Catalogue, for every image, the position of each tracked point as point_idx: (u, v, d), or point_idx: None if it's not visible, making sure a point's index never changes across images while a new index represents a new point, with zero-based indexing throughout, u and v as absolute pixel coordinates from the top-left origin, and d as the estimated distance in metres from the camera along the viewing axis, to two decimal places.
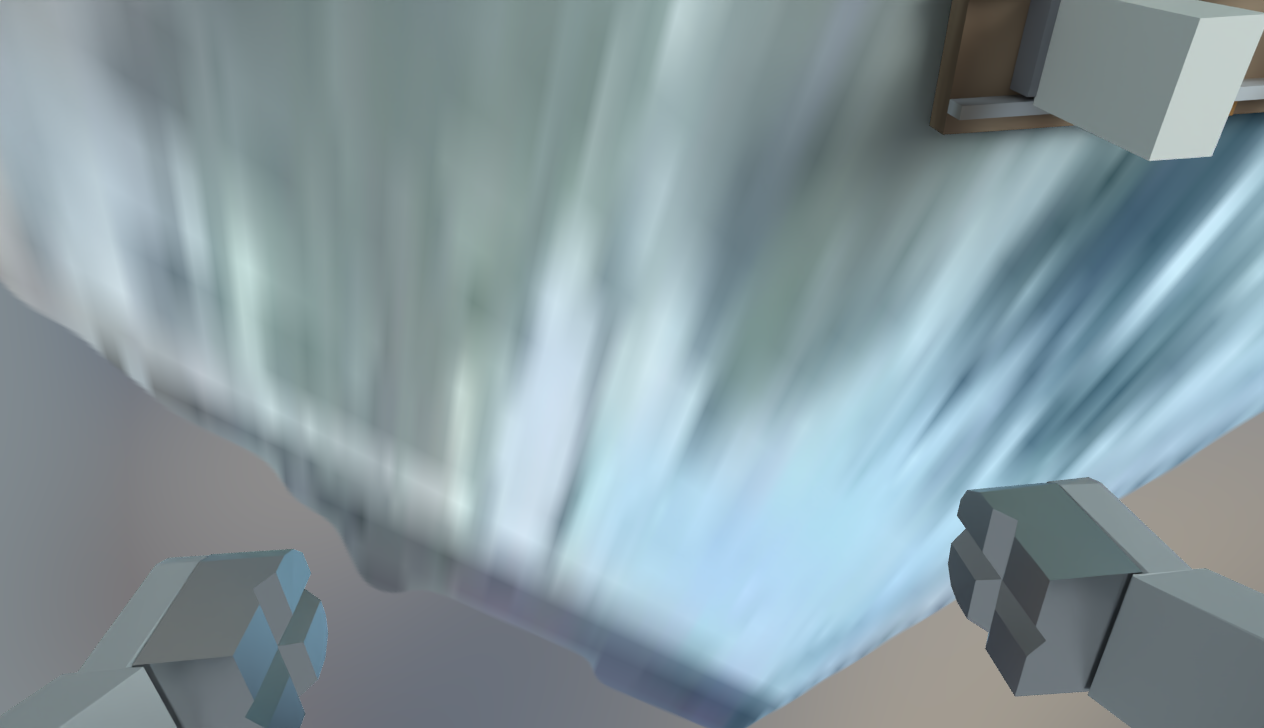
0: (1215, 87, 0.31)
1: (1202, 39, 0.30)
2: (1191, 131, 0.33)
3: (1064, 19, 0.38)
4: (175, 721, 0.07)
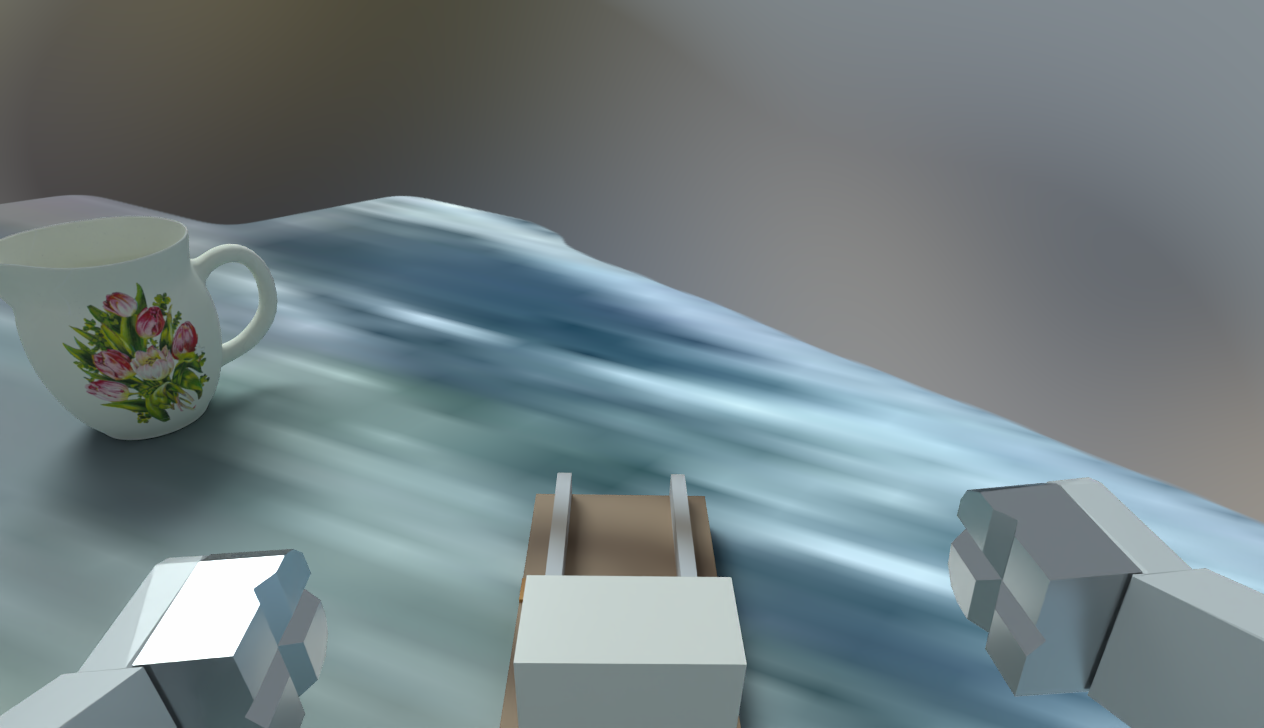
0: (625, 607, 0.20)
1: (548, 648, 0.19)
2: (692, 617, 0.20)
3: None
4: (175, 721, 0.07)
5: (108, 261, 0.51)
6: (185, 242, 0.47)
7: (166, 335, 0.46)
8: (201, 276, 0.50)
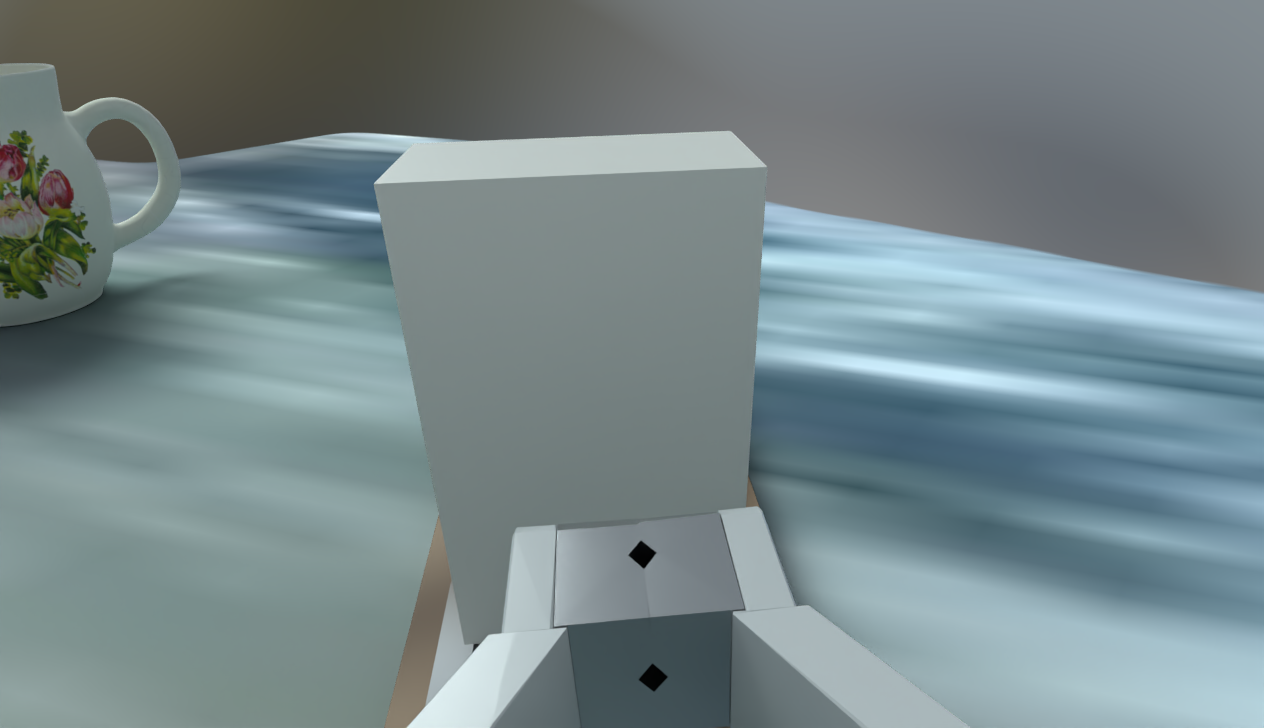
0: (565, 150, 0.13)
1: (435, 174, 0.11)
2: (674, 150, 0.12)
3: None
4: (574, 683, 0.07)
5: None
6: (49, 75, 0.39)
7: (29, 182, 0.38)
8: (79, 130, 0.42)
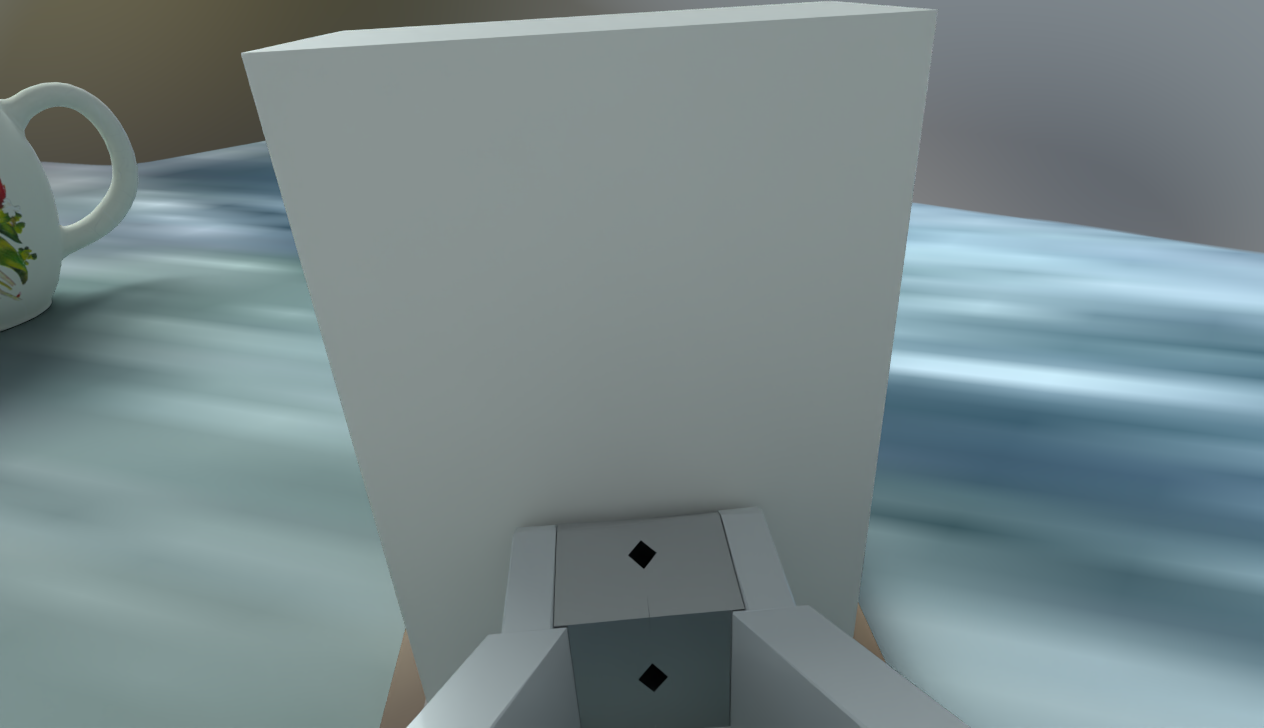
0: (579, 21, 0.08)
1: (355, 42, 0.06)
2: (757, 11, 0.08)
3: None
4: (573, 683, 0.07)
5: None
6: None
7: None
8: (15, 120, 0.37)
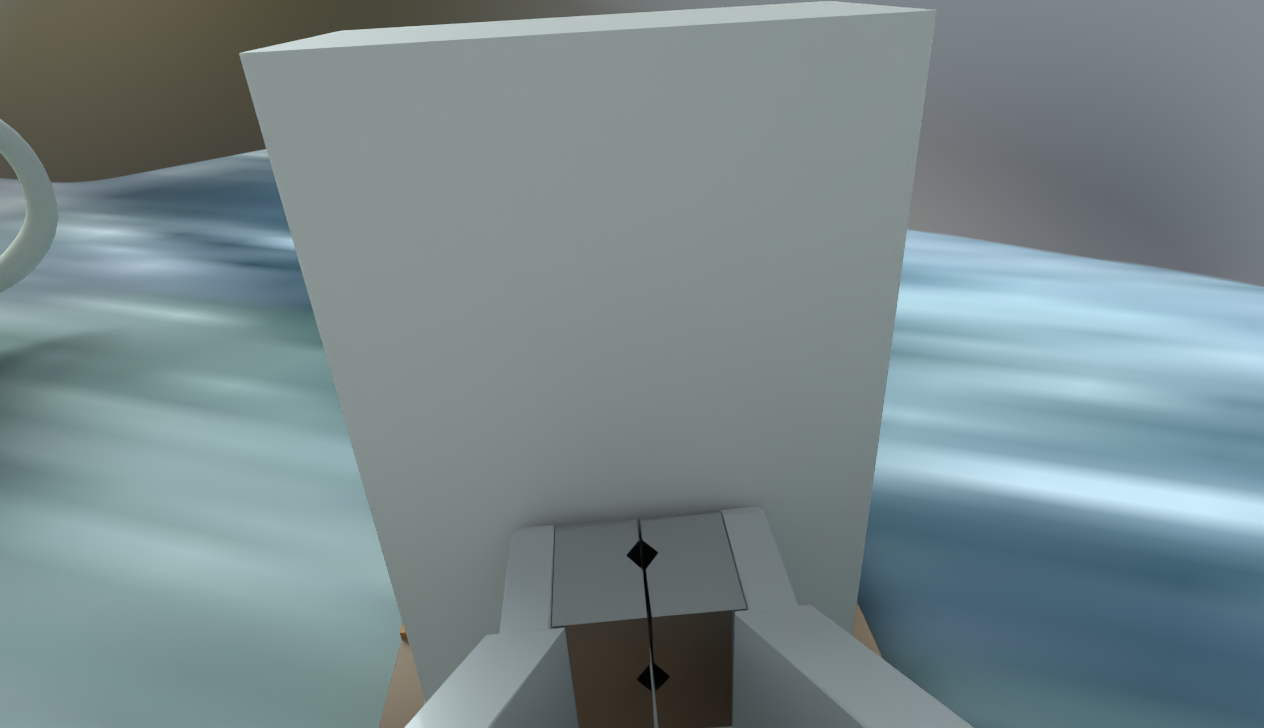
0: (577, 21, 0.08)
1: (354, 42, 0.06)
2: (756, 10, 0.08)
3: None
4: (571, 683, 0.07)
5: None
6: None
7: None
8: None
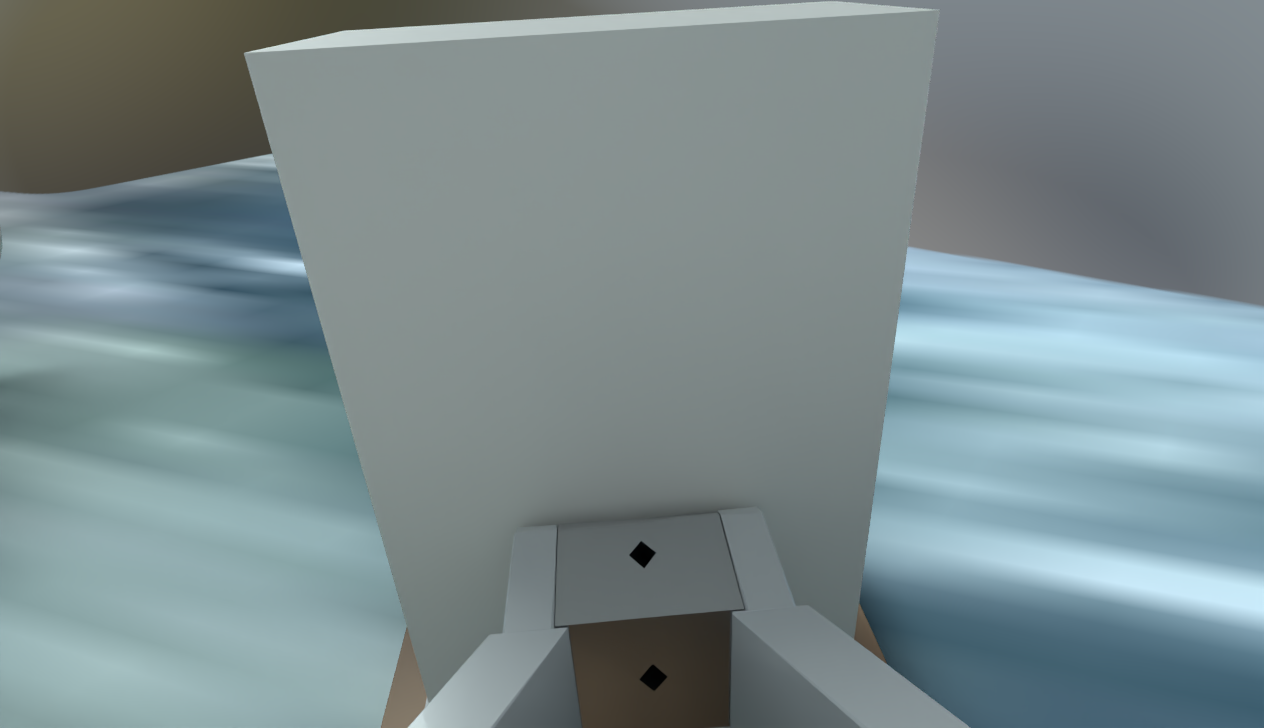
0: (581, 21, 0.08)
1: (358, 42, 0.06)
2: (759, 12, 0.08)
3: None
4: (574, 683, 0.07)
5: None
6: None
7: None
8: None
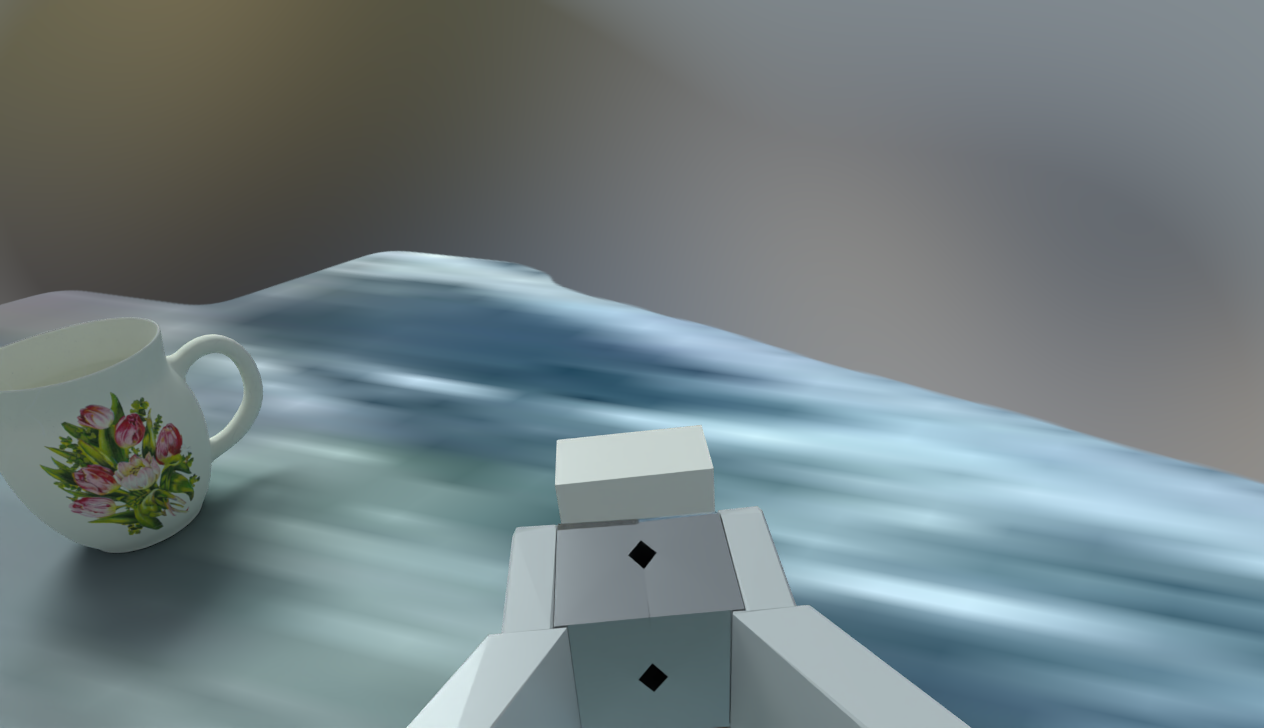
0: (627, 448, 0.29)
1: (577, 475, 0.27)
2: (675, 448, 0.28)
3: None
4: (573, 683, 0.07)
5: (82, 369, 0.49)
6: (158, 342, 0.45)
7: (148, 441, 0.44)
8: (180, 372, 0.48)
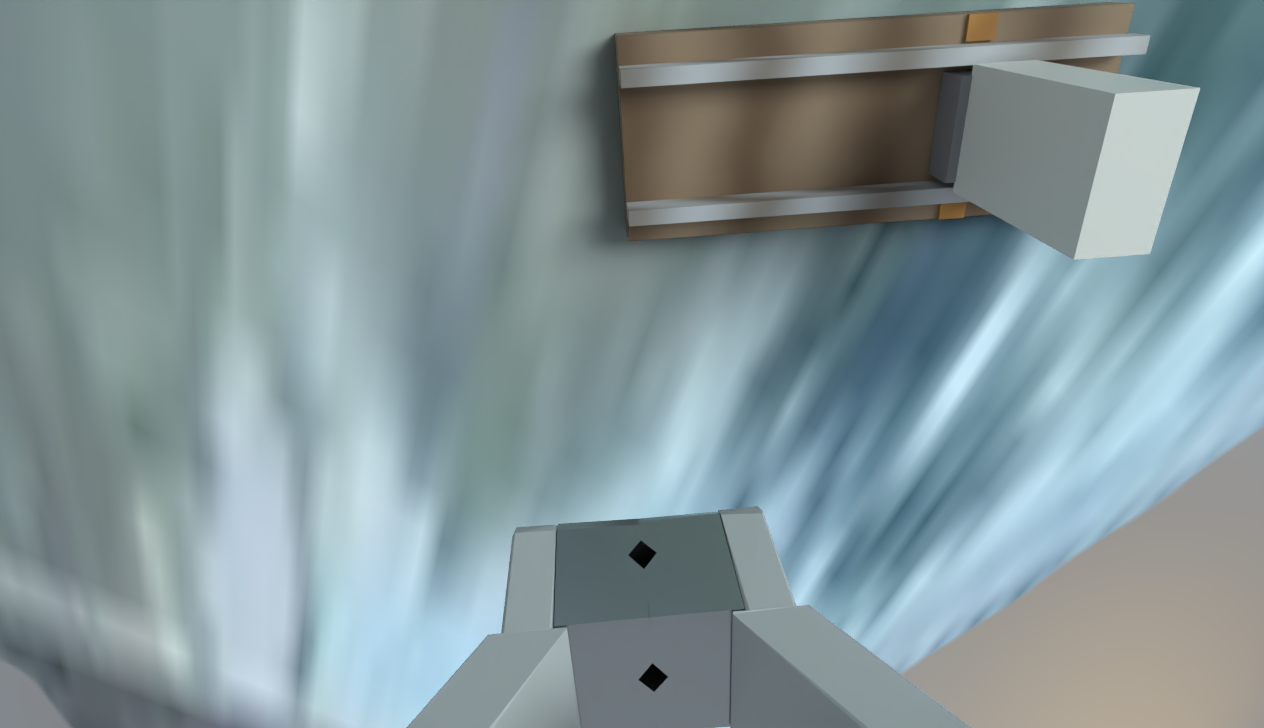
0: (1143, 174, 0.26)
1: (1121, 118, 0.25)
2: (1120, 225, 0.27)
3: (977, 97, 0.33)
4: (573, 683, 0.07)
5: None
6: None
7: None
8: None
